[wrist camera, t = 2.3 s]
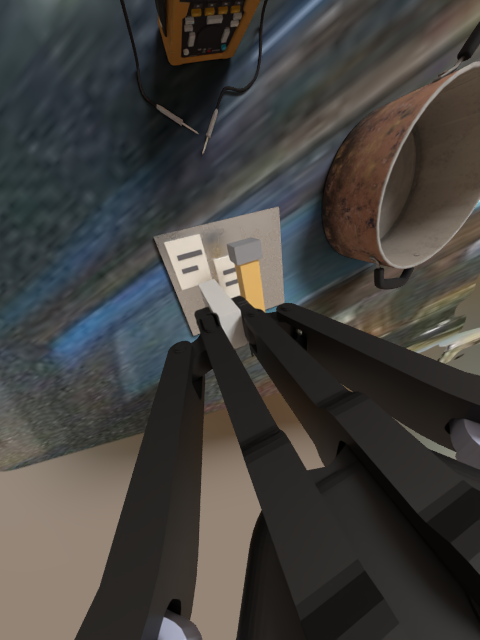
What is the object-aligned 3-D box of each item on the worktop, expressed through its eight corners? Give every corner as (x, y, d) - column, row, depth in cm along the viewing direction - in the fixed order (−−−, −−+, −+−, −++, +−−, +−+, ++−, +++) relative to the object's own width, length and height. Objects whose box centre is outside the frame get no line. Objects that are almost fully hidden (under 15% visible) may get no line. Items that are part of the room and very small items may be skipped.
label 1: (181, 289, 30) (182, 290, 29) (164, 242, 26) (164, 243, 25) (212, 280, 31) (212, 280, 30) (199, 234, 27) (199, 234, 26)
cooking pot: (352, 43, 24) (465, -56, 15) (451, 91, 31) (566, 44, 22) (303, 277, 38) (346, 296, 29) (379, 272, 45) (431, 286, 37)
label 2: (223, 299, 33) (224, 300, 32) (213, 260, 29) (213, 260, 29) (249, 291, 34) (250, 291, 34) (242, 251, 30) (243, 252, 30)
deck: (194, 338, 35) (201, 362, 30) (153, 236, 26) (152, 242, 20) (282, 305, 39) (303, 321, 34) (276, 206, 30) (304, 205, 24)
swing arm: (266, 334, 32) (274, 343, 29) (244, 342, 31) (251, 353, 29) (253, 236, 23) (263, 239, 21) (223, 244, 22) (230, 248, 20)
